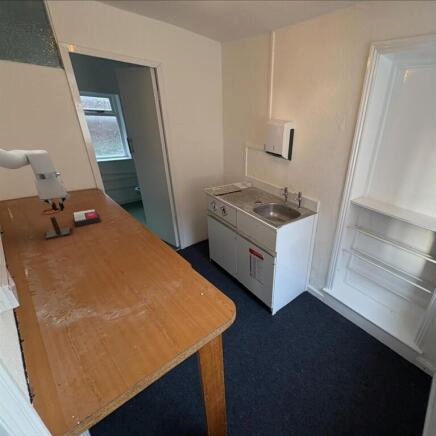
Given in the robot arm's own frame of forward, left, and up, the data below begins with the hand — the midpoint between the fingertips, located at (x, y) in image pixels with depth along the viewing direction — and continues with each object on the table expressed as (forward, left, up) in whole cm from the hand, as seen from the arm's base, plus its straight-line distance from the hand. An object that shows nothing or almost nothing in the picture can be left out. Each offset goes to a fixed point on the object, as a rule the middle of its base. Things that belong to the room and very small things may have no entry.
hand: (59, 210), depth 122 cm
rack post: (-4, 0, -13) cm, 13 cm away
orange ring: (-3, 0, 0) cm, 3 cm away
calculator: (+8, +14, -13) cm, 21 cm away
